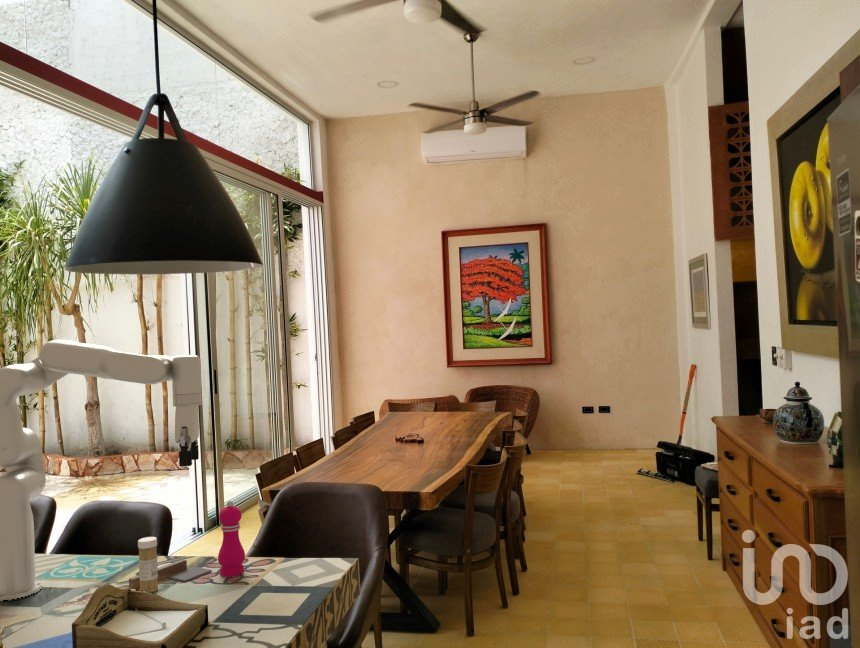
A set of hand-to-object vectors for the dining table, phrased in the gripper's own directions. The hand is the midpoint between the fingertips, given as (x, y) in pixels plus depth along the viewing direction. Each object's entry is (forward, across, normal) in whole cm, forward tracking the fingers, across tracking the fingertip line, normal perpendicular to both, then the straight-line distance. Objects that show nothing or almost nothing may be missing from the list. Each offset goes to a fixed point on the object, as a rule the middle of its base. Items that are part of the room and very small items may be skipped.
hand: (189, 462), depth 188 cm
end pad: (+31, -2, -1) cm, 31 cm away
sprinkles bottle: (+31, +8, -10) cm, 34 cm away
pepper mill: (+31, 0, +10) cm, 33 cm away
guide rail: (+31, 0, -9) cm, 32 cm away
